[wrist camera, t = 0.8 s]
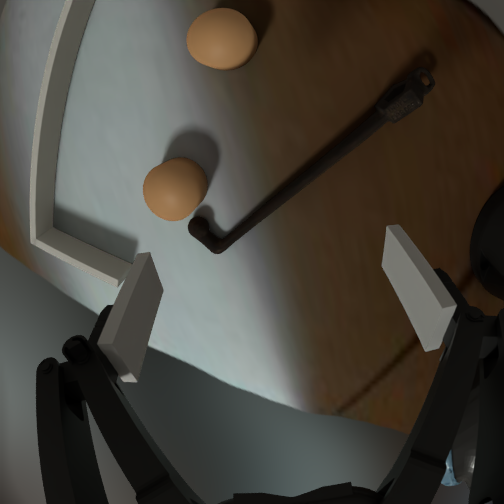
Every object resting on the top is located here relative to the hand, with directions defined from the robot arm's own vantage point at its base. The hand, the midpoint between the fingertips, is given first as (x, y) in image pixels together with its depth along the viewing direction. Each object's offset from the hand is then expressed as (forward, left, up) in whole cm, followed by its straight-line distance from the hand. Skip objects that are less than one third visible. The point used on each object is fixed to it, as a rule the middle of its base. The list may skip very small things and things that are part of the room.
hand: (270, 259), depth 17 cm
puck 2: (+11, -12, -16) cm, 23 cm away
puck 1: (+11, +4, -16) cm, 20 cm away
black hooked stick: (0, -4, -17) cm, 17 cm away
